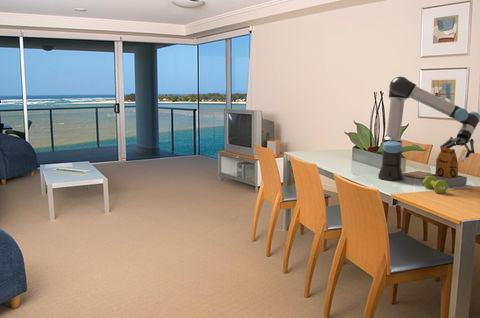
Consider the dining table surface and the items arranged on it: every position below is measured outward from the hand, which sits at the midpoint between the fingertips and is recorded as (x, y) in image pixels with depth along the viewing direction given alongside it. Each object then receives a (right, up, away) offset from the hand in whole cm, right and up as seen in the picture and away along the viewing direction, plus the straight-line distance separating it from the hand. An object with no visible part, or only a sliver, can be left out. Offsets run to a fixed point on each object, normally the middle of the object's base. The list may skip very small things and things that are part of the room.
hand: (451, 159), depth 266 cm
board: (-8, -11, +26) cm, 30 cm away
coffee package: (-3, -15, +1) cm, 15 cm away
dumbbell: (-17, -18, -16) cm, 30 cm away
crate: (-3, -15, +1) cm, 15 cm away
